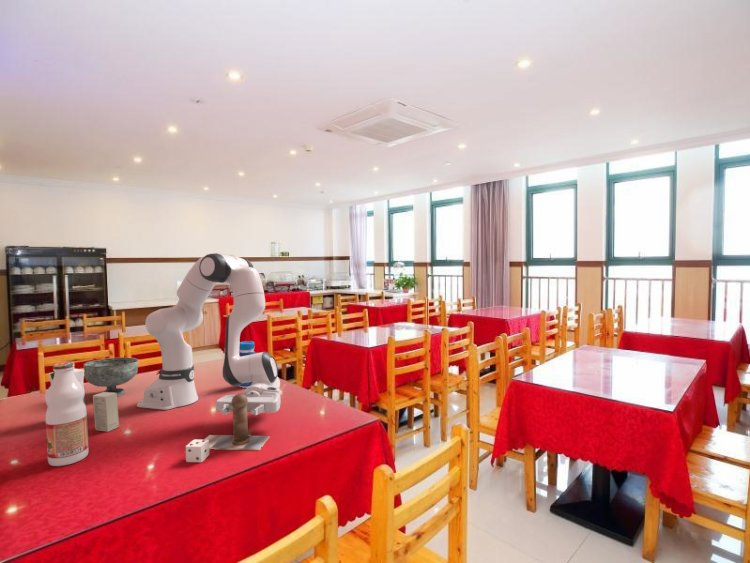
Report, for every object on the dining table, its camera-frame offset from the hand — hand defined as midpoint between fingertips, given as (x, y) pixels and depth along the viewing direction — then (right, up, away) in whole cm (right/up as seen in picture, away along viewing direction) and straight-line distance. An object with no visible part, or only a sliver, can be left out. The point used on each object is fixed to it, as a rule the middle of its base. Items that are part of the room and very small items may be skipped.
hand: (238, 412), depth 123 cm
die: (-9, -11, -8) cm, 16 cm away
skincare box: (-50, -11, +14) cm, 53 cm away
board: (-2, -10, +1) cm, 10 cm away
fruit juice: (-47, -11, -7) cm, 49 cm away
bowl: (-72, -9, +51) cm, 89 cm away
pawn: (0, -9, +1) cm, 10 cm away
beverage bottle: (-16, -8, +61) cm, 64 cm away
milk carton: (-70, -10, +23) cm, 74 cm away
